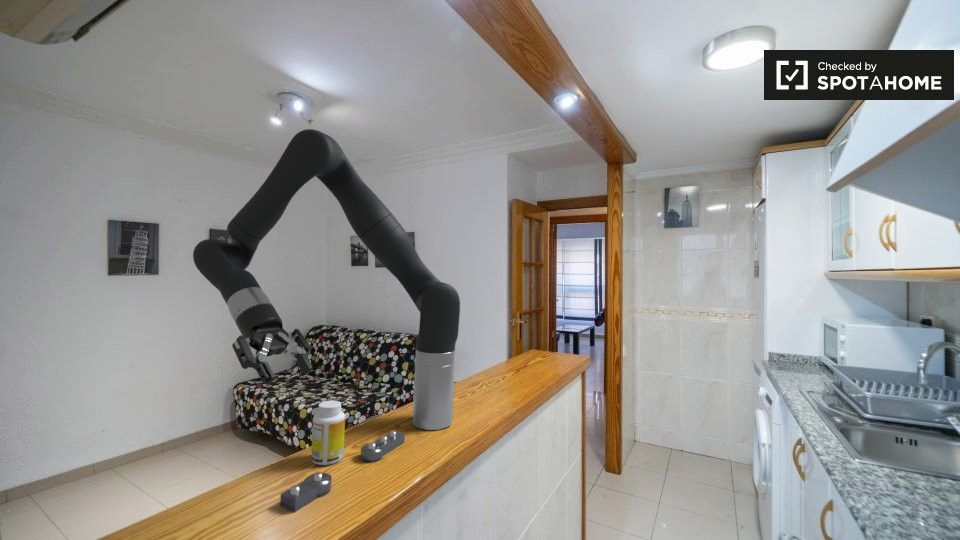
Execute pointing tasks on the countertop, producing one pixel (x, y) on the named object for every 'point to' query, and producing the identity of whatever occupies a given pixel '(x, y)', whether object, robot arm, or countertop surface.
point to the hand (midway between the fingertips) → (291, 376)
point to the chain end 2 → (381, 446)
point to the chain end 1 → (306, 491)
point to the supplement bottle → (328, 434)
